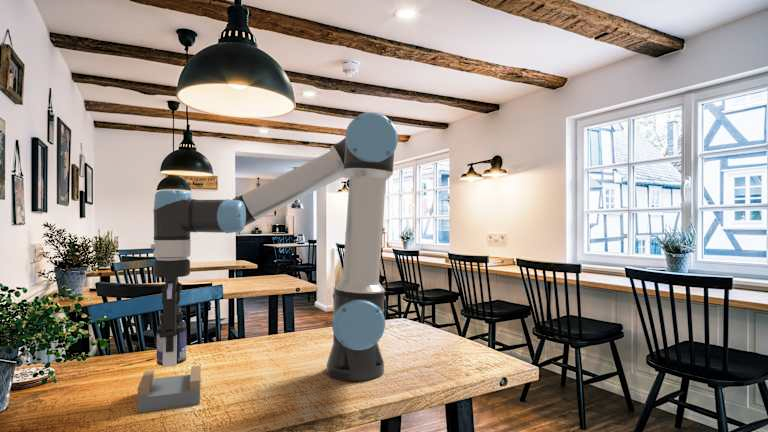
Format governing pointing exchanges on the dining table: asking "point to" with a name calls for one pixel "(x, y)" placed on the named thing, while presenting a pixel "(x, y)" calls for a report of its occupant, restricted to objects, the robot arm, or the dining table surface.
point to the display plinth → (169, 391)
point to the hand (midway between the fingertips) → (170, 361)
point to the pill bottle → (180, 339)
